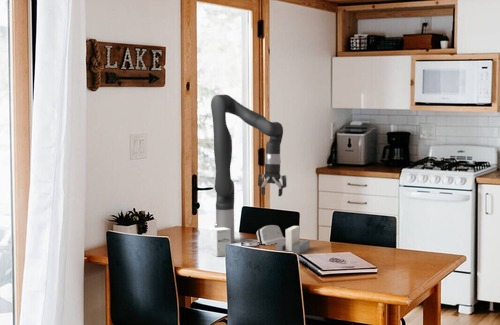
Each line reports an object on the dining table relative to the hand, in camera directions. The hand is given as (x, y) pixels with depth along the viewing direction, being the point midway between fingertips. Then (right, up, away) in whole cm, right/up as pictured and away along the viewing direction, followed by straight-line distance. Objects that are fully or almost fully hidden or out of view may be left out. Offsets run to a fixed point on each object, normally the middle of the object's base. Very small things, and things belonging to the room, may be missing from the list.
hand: (271, 195), depth 393 cm
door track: (+10, -26, -9) cm, 29 cm away
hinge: (0, -25, +13) cm, 28 cm away
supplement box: (-25, -28, -17) cm, 40 cm away
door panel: (+10, -25, -9) cm, 28 cm away
